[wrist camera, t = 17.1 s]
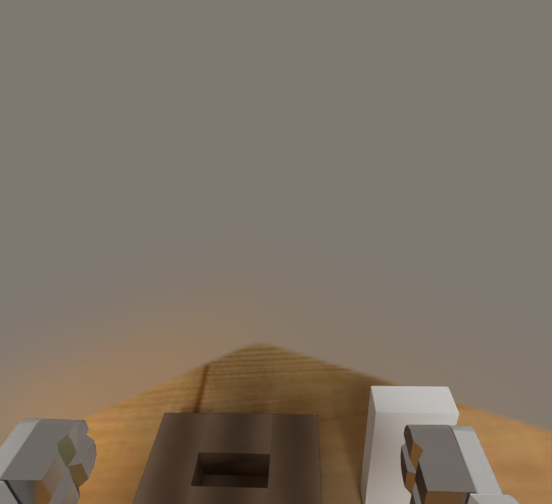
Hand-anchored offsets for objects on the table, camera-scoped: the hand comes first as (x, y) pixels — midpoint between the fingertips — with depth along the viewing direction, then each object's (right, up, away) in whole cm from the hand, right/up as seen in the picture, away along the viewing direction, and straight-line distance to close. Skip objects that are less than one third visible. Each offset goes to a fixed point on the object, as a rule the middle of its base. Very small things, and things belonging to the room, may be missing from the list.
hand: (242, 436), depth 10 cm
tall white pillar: (+12, -19, +27) cm, 35 cm away
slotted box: (-3, -19, +28) cm, 34 cm away
